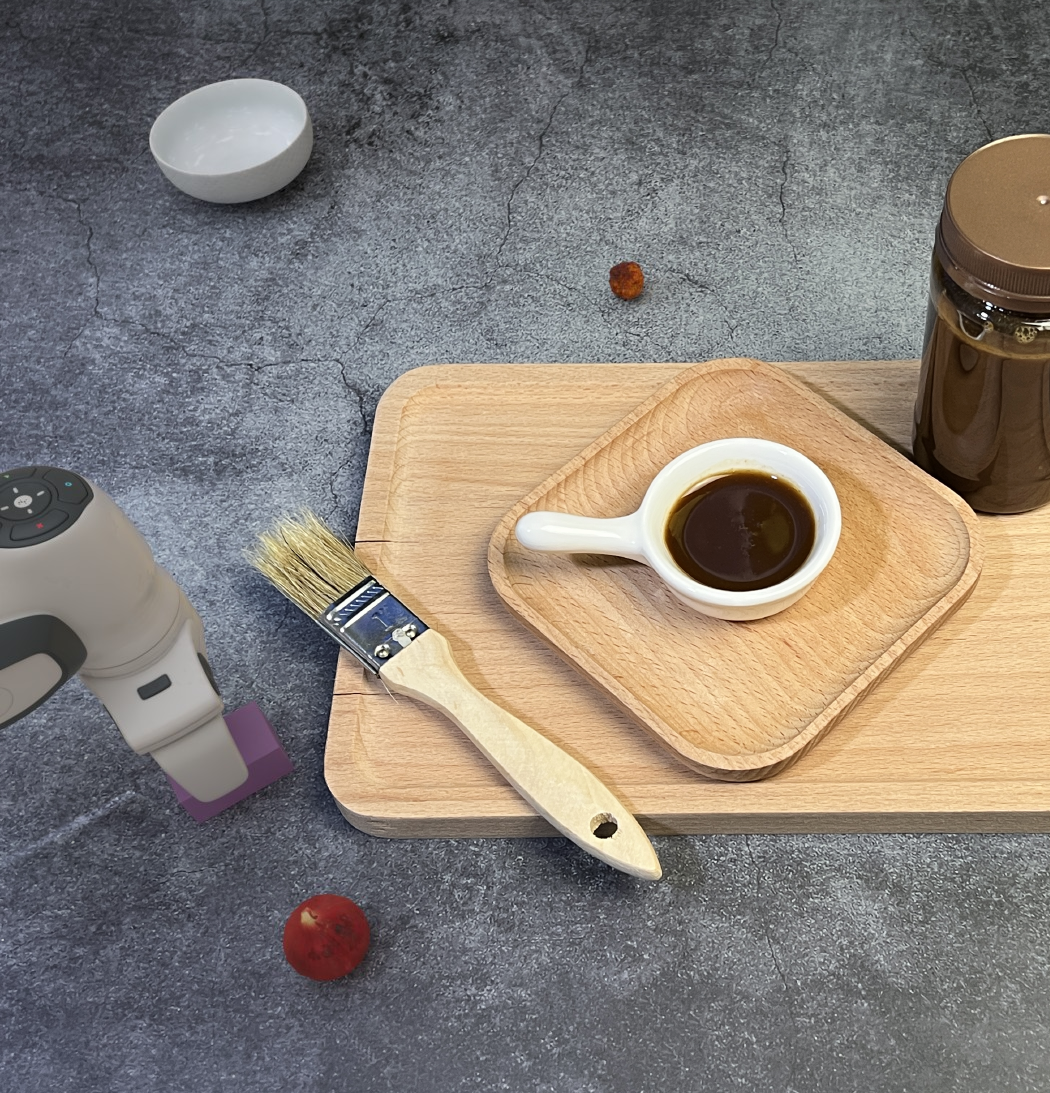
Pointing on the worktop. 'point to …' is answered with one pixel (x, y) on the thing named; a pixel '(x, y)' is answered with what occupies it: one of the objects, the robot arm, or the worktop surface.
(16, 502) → the robot arm
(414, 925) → the worktop surface
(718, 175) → the worktop surface
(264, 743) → the block
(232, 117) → the cereal bowl
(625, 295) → the meatball
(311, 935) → the red rounded lump
